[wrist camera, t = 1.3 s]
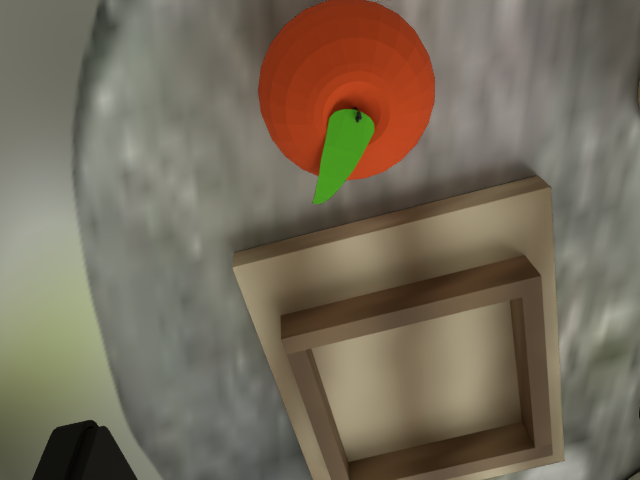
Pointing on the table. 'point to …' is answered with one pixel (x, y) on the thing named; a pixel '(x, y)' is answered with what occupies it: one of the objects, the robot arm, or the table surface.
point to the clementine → (346, 91)
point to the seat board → (417, 338)
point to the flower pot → (639, 94)
